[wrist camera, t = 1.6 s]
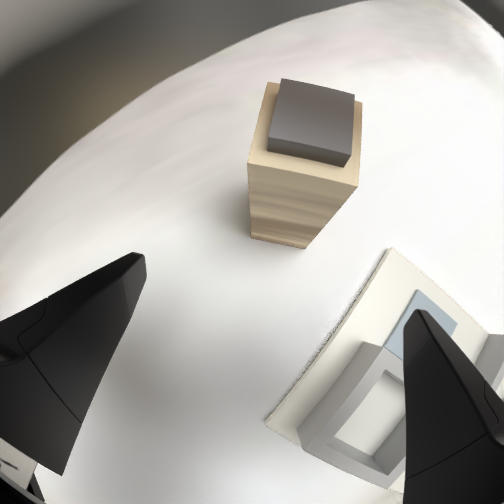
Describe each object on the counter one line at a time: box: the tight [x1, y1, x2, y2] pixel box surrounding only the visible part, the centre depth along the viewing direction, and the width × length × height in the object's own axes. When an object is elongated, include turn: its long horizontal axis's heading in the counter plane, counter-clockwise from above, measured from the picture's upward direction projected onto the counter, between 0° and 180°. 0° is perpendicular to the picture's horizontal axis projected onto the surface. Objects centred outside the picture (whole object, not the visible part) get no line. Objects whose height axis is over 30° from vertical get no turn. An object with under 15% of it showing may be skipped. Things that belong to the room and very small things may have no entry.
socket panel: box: [265, 247, 504, 494], centre depth 17 cm, size 16×22×4 cm
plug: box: [247, 78, 362, 249], centre depth 16 cm, size 4×4×13 cm
